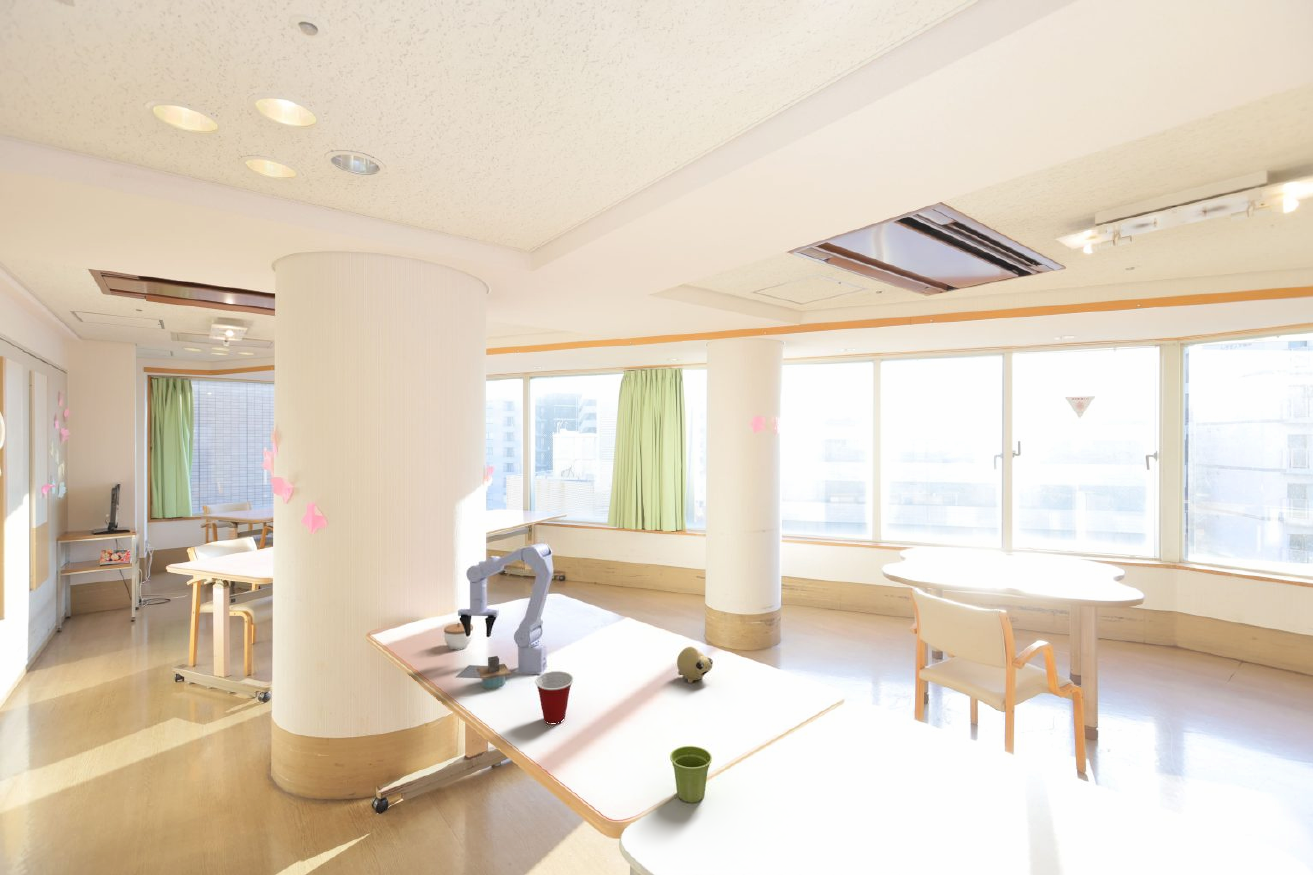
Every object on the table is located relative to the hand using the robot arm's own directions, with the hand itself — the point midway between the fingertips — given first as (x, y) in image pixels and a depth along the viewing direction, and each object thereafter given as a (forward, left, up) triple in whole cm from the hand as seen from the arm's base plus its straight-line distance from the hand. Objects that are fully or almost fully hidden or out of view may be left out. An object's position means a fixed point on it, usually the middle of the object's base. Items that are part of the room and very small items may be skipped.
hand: (478, 635), depth 216 cm
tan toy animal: (-78, +7, -10) cm, 79 cm away
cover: (-13, +18, -6) cm, 23 cm away
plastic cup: (-40, +40, -10) cm, 57 cm away
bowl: (-13, +18, -10) cm, 24 cm away
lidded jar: (+15, -16, -10) cm, 24 cm away
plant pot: (-81, +72, -10) cm, 109 cm away
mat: (-3, +8, -10) cm, 13 cm away
